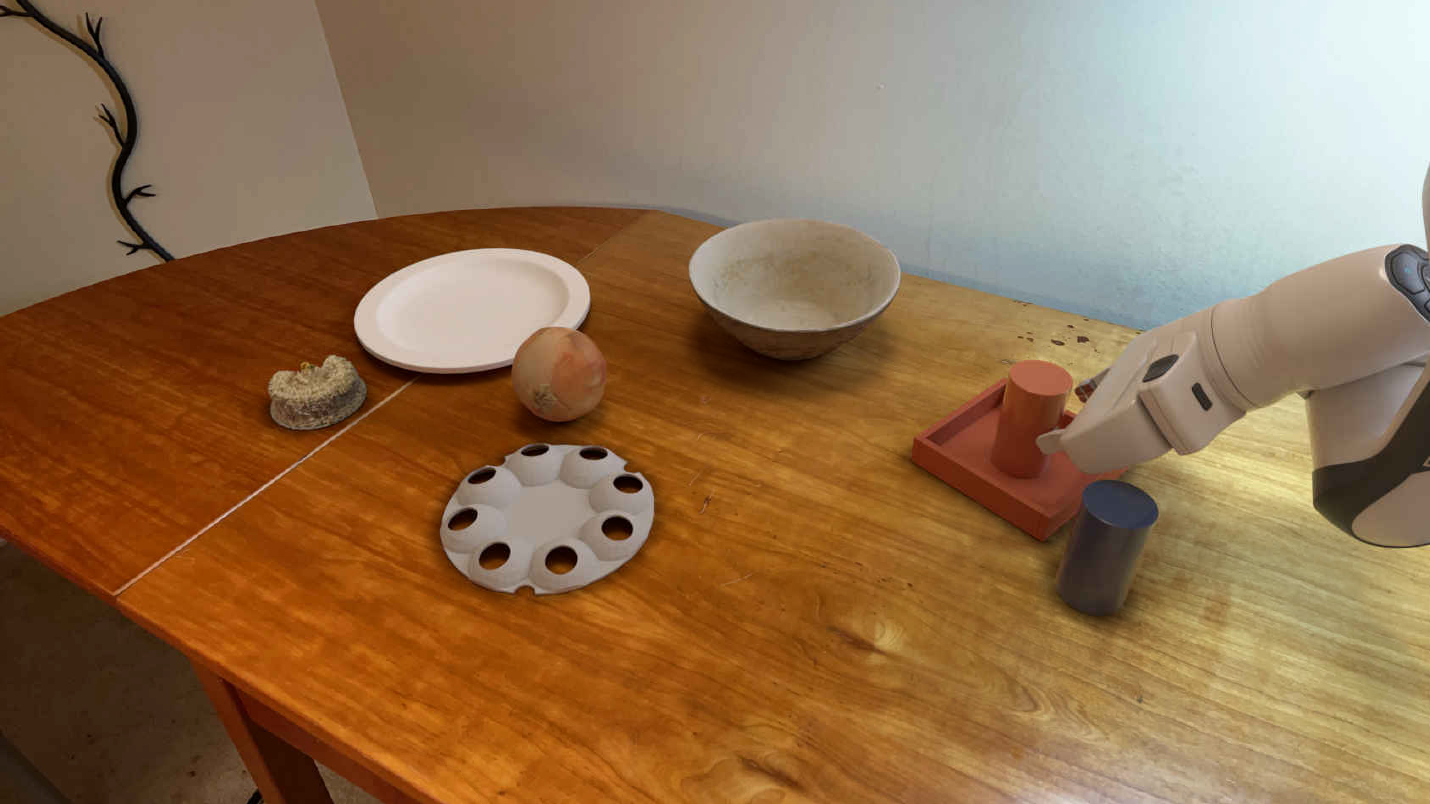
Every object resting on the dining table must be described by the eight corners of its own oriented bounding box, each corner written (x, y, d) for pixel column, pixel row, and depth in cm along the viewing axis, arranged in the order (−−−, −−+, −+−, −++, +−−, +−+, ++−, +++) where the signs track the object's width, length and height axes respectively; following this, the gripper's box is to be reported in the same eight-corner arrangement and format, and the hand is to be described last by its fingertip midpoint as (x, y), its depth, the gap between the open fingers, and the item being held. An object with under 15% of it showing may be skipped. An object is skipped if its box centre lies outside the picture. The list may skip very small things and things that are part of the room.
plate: (319, 315, 113) (314, 298, 111) (513, 243, 127) (511, 228, 126) (429, 417, 96) (424, 399, 95) (637, 321, 111) (636, 304, 109)
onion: (510, 441, 93) (494, 361, 87) (527, 384, 101) (514, 306, 95) (604, 441, 93) (596, 360, 87) (614, 384, 100) (606, 306, 94)
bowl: (838, 422, 95) (845, 342, 89) (651, 356, 105) (646, 280, 99) (921, 320, 111) (932, 246, 105) (752, 271, 121) (753, 201, 115)
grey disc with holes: (692, 483, 87) (692, 468, 86) (574, 628, 74) (572, 612, 72) (529, 425, 95) (526, 410, 94) (394, 546, 81) (389, 530, 80)
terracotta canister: (1061, 472, 88) (1086, 388, 82) (1010, 484, 86) (1031, 400, 80) (1028, 436, 92) (1049, 355, 86) (979, 447, 91) (997, 365, 84)
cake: (383, 408, 98) (373, 369, 95) (291, 447, 93) (276, 408, 90) (346, 362, 104) (334, 324, 100) (257, 397, 99) (241, 358, 95)
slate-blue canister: (1139, 606, 75) (1175, 519, 69) (1080, 622, 74) (1112, 535, 68) (1097, 558, 79) (1127, 472, 73) (1041, 573, 78) (1067, 487, 72)
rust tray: (1129, 468, 89) (1137, 444, 87) (1042, 542, 81) (1050, 518, 79) (999, 399, 98) (1004, 376, 96) (910, 460, 90) (913, 437, 88)
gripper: (1220, 282, 79) (1083, 339, 90) (1148, 394, 66) (998, 445, 77) (1258, 341, 80) (1117, 392, 90) (1193, 464, 67) (1038, 505, 77)
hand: (1061, 417), depth 84 cm, fingers open, 8 cm apart
